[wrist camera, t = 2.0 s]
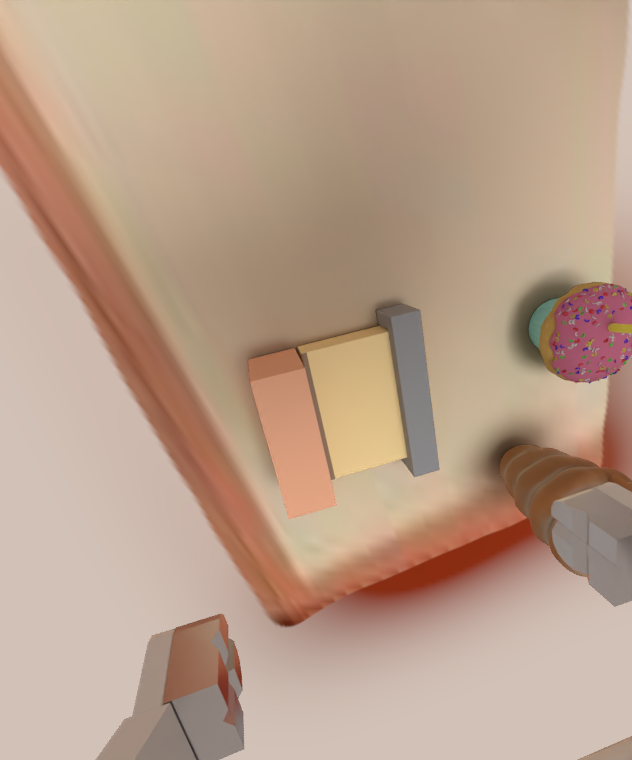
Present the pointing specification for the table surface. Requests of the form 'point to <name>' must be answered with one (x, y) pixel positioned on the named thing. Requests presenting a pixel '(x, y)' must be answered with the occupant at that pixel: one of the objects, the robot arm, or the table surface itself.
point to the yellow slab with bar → (374, 395)
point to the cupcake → (585, 332)
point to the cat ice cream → (550, 484)
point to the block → (291, 431)
